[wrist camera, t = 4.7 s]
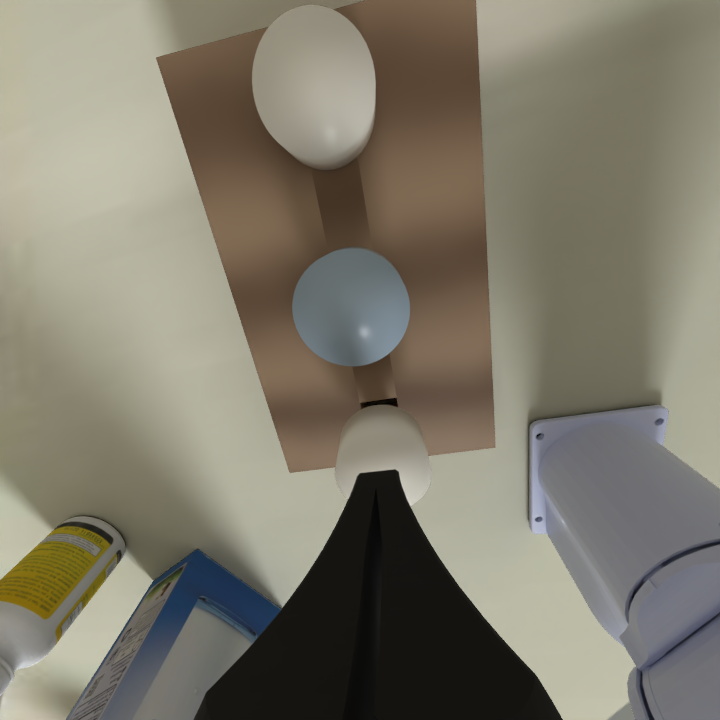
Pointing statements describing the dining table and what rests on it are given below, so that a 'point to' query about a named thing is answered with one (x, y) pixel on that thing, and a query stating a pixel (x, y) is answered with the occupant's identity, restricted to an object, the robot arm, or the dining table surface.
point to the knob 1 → (315, 86)
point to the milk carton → (176, 644)
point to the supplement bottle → (53, 590)
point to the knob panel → (356, 225)
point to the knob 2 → (384, 449)
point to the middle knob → (351, 307)
